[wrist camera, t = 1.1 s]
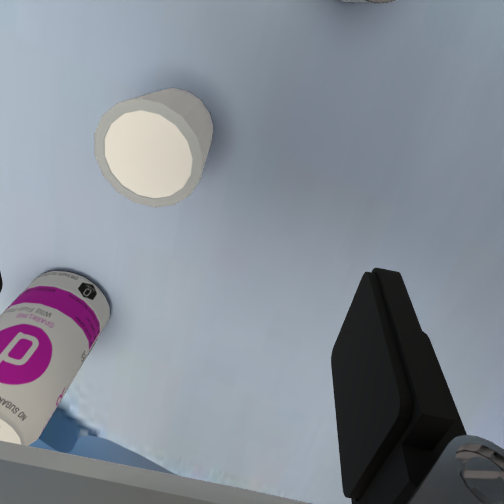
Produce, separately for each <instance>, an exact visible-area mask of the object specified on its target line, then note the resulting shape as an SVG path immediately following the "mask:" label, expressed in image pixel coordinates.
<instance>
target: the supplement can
mask: <svg viewBox="0 0 504 504" xmlns="http://www.w3.org/2000/svg"><path fill="white" fill-rule="evenodd" d="M109 318H110V307H109V305H108V302H107V300H106V298H105V296H104V295H103V293H102V292H101V291H100V289H99V288H98V287H97V286H96V285H95V284H94V283H92V282H91V281H89V280H88V279H86V278H85V277H83V276H80V275H77V274H74V273H70V272H62V271H51V272H47V273H44V274H41V275H40V276H39V277H37V278H36V279H35V280H34V281H33V282H32V283H31V284H30V285H29V286H28V287H27V288H26V289H25V290H24V291H23V292H22V293H21V294H20V295H19V297H18V298H17V299H16V300H15V301H14V302H13V303H12V304H11V305H10V306H9V307H8V308H7V309H6V310H5V311H4V312H3V313H2V314H1V315H0V441H5V442H10V443H15V444H20V445H25V446H28V445H30V444H31V443H33V442H34V441H36V440H37V439H38V438H39V436H40V434H41V433H42V431H43V429H44V428H45V426H46V424H47V423H48V421H49V419H50V418H51V416H52V414H53V413H54V411H55V409H56V408H57V406H58V404H59V403H60V401H61V399H62V398H63V396H64V394H65V393H66V391H67V389H68V388H69V386H70V384H71V383H72V381H73V379H74V377H75V376H76V374H77V372H78V371H79V369H80V367H81V366H82V364H83V362H84V361H85V359H86V357H87V356H88V354H89V352H90V351H91V349H92V347H93V346H94V344H95V342H96V341H97V339H98V337H99V336H100V334H101V332H102V331H103V329H104V327H105V326H106V324H107V322H108V320H109Z"/></svg>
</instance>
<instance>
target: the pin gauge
mask: <svg viewBox="0 0 504 504" xmlns="http://www.w3.org/2000/svg"><path fill="white" fill-rule="evenodd" d="M340 1H343V2H370V3H387V2H392V1H395V0H340Z"/></svg>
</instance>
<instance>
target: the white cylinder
mask: <svg viewBox="0 0 504 504" xmlns="http://www.w3.org/2000/svg"><path fill="white" fill-rule="evenodd" d="M212 135H213V124H212V120H211V116H210V113H209V111H208V110H207V108H206V107H205V106H204V104H203V103H202V101H201V100H200V99H198V98H197V97H195V96H194V95H193V94H191V93H190V92H188V91H184V90H180V89H176V88H170V89H165V90H160V91H157V92H153V93H150V94H146V95H143V96H140V97H136V98H133V99H129V100H126V101H122V102H119V103H117V104H116V105H115V106H114V107H112V108H111V109H110V110H109V111H107V112H106V113H105V114H104V115H102V118H101V120H100V122H99V125H98V127H97V129H96V132H95V134H94V140H95V157H96V159H97V162H98V164H99V166H100V169H101V171H102V174H103V176H104V177H105V178H106V179H107V180H108V181H109V183H110V184H111V185H112V186H113V187H114V188H115V189H116V191H117V192H119V193H120V194H122V195H124V196H125V197H127V198H129V199H130V200H132V201H134V202H135V203H139V204H143V205H148V206H152V207H161V206H168V205H175V204H176V203H178V202H179V201H181V200H183V199H184V198H186V197H188V196H189V195H190V194H191V193H192V191H193V190H194V188H195V187H196V185H197V183H198V182H199V180H200V179H201V175H202V172H203V169H204V165H205V162H206V159H207V155H208V152H209V149H210V146H211V142H212Z"/></svg>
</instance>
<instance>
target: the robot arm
mask: <svg viewBox="0 0 504 504" xmlns="http://www.w3.org/2000/svg"><path fill="white" fill-rule="evenodd" d="M1 289H2V277H1V273H0V292H1ZM331 365H332V376H333V387H334V398H335V409H336V420H337V431H338V442H339V453H340V463H341V474H342V485H343V492H344V495H345V497H347V498H351V500H352V504H504V449H502V448H501V447H499V446H497V445H496V444H494V443H493V442H491V441H489V440H486V439H483V438H481V437H478V436H472V435H467V434H466V431H465V429H464V426H463V424H462V421H461V419H460V416H459V413H458V411H457V408H456V406H455V403H454V401H453V398H452V395H451V393H450V390H449V388H448V385H447V383H446V380H445V378H444V375H443V372H442V370H441V367H440V365H439V362H438V360H437V357H436V354H435V352H434V349H433V347H432V344H431V342H430V339H429V337H428V336H427V334H426V333H424V332H423V331H422V329H421V327H420V324H419V321H418V319H417V316H416V313H415V311H414V308H413V306H412V303H411V300H410V298H409V295H408V292H407V290H406V287H405V284H404V282H403V279H402V276H401V274H400V273H399V272H395V271H390V270H386V269H381V268H374V269H373V271H372V272H371V273H370V272H365V273H364V275H363V277H362V279H361V281H360V284H359V286H358V289H357V291H356V294H355V296H354V298H353V301H352V303H351V306H350V308H349V311H348V313H347V316H346V318H345V320H344V323H343V325H342V328H341V330H340V333H339V335H338V338H337V340H336V342H335V345H334V347H333V351H332V356H331ZM0 504H311V503H306V502H302V501H297V500H292V499H288V498H283V497H279V496H274V495H270V494H265V493H260V492H256V491H251V490H247V489H242V488H237V487H232V486H227V485H222V484H217V483H212V482H207V481H202V480H197V479H192V478H187V477H182V476H177V475H172V474H167V473H162V472H157V471H152V470H147V469H142V468H137V467H132V466H127V465H122V464H117V463H112V462H107V461H102V460H97V459H92V458H87V457H82V456H77V455H71V454H66V453H61V452H56V451H51V450H46V449H40V448H35V447H30V446H25V445H20V444H15V443H10V442H5V441H0Z"/></svg>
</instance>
